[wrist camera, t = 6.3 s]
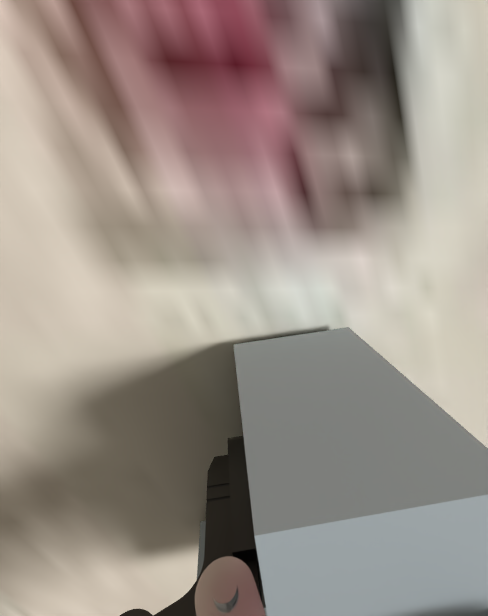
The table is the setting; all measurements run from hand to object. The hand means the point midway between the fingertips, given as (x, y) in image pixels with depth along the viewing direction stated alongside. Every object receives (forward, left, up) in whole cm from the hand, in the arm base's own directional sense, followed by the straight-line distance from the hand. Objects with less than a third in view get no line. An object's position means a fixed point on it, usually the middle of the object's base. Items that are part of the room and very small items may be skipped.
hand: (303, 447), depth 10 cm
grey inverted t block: (0, 0, -1) cm, 1 cm away
